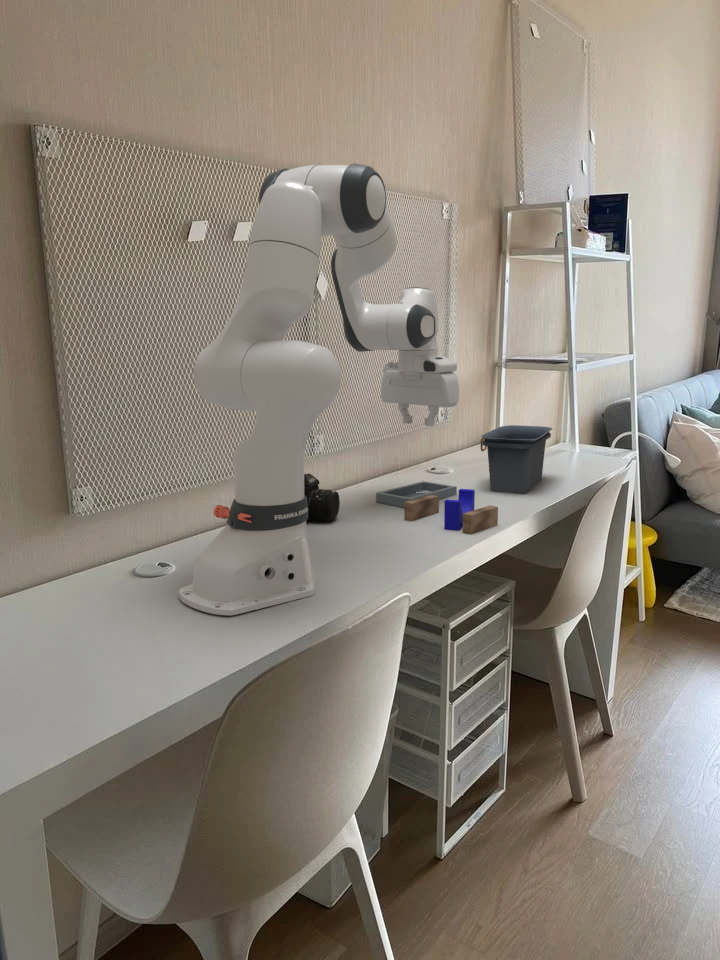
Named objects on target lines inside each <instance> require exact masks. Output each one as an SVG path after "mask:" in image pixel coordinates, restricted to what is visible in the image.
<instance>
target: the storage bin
mask: <svg viewBox="0 0 720 960" xmlns="http://www.w3.org/2000/svg"><path fill="white" fill-rule="evenodd" d="M552 430H553V427H550V426H538V425H537V426H536V425H517V424H515V425H510V424H509V425H502V426H499V427H497V428H496V427H495V428H494V429H492V430H490V431H488V432H485V433H484V434H482V435H481V439H480V451H481V452H485V451H486V450H487V459H488V471H489V483H490V485H489V486H490V492H492V493H506V494H516V495H527V494H528V493H529V492H531V491H532V490H533V489H534V488H535V487H536V486H537V485H538V484H539V483H540V482H541V481H542V479H543V472H544V471H543V470H544V469H543V468H544V459H545V451H546V443H547V440H549V439H550V438H551V437H552V435H551V434H552V433H550V432H551V431H552ZM483 446H484V447H483Z"/></svg>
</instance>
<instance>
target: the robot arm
mask: <svg viewBox="0 0 720 960" xmlns="http://www.w3.org/2000/svg"><path fill="white" fill-rule="evenodd" d="M257 208H258V209H257V211H256V214H255V217H254V221H253V225H252V230H251V233H250V239H249V244H248V249H247V250H248V251H247V256H246V262H245V267H244V273H243V278H242V283H241V287H240V288H241V289H240V292H239V295H238V297H237V301H236V303H235V306H234V308H233V311H232V312H231V314H230V316H229V317H228V318H229V319H228V320H227V322H226V323H225V326H224V327H223V328H222V330H221V332H220V333H219V334H218V335H217V337H216V338H215V339H214V340H213V341H212V342H211V343H210V344H208V345H207V346H206V347H204V348H203V349H202V350H201V351H200V352H199V354H198V356H197V358H196V359H195V361H194V362H195V363H194V367H193V381H194V386H195V388H196V391H197V393H198V395H200V397H201V398H202V399H204V400H205V401H206V402H208V403H211V404H213V405H216V406H218V407H222V408H224V409H228V410H232V411H247V412H248V411H249V412H255V423H254V427H253V430H252V432H251V434H250V436H249V437H247V438H246V439H244V440H243V441H241V442H240V443H239V444H238V445H237V447H236V448H235V450H234V451H233V456H232V463H233V465H232V466H233V484H234V499H232V503H231V506H230V508H229V507H228V506H223V505H221V504H218V505H215V506H214V509H213V511H212V512H213V516H215V518H219V519H222V520H226V524H227V525H226V526H224V528H223V529H222V530H221V531H220V532H219V533H218V534H217V535H216V536H215V537H214V538H213V540H211V542H209V544H207V546H206V547H205V548H204V549H203V550H202V551H201V552H200V553H199V554H198V555H197V556H196V558H195V560H194V564H193V565H194V566H193V572H192V573H193V575H192V583H190V584H188V585H186V586H183V587H181V588H179V589H178V599H179V600H180V601H181V602H182V603H184V604H185V605H187V606H188V607H191V608H193V609H195V610H198V611H201V612H203V613H207V614H208V613H209V614H212V615H219V616H237V615H239V614H244V613H248V612H252V611H256V610H260V609H263V608H264V609H265V608H267V607H272V606H275V605H276V606H277V605H279V604H285V603H288V602H292V601H296V600H299V599H303V598H308V597H311V596H314V595H315V594H316V584H317V582H318V577H317V573H316V572H315V569H314V565H313V560H312V556H311V551H310V544H309V537H308V530H307V522H306V520H307V519H308V505H307V497H306V496H305V495H304V474H305V452H306V446H307V443H308V442H307V441H308V439H309V435H310V433H311V431H312V427H313V426H314V424H315V422H316V421H317V419H318V418H319V416H320V415H321V414H322V412H324V411H325V410H326V409H327V408H329V406H331V404H332V403H334V401H335V399H336V397H337V396H338V393H339V389H340V387H341V370H340V366H339V363H338V360H337V359H336V357H335V355H334V354H333V352H332V351H331V350H330V349H329V348H328V347H325V346H323V345H319V344H315V343H312V342H308V341H303V340H297V339H296V340H294V339H290V340H289V339H287V340H286V339H285V337H286V335H287V333H288V332H289V331H290V329H291V328H292V327H293V326H294V325H295V324H296V323H297V322H299V321H300V320H301V319H303V318H304V317H305V316H306V315H307V314H308V313H309V312H310V310H311V308H312V306H313V301H314V295H315V289H316V283H317V276H318V270H319V269H318V268H319V262H320V256H321V247H322V237H325V236H326V237H328V236H333V238H334V241H335V243H336V246H337V247H336V249H335V250H334V251H333V253H332V256H331V260H330V261H331V262H330V270H331V277H332V281H333V285H334V289H335V294H336V297H337V301H338V304H339V305H338V306H339V309H340V311H341V313H340V314H341V316H342V324H343V333H344V334H343V335H344V338H345V340H346V341H347V343H348V345H349V346H350V347H352V348H353V350H355V351H356V352H359V353H362V352H363V353H364V352H374V351H398V352H397V355H398V356H397V358H398V359H397V360H398V361H397V362H393V361H390V362H388V363H386V365H384V366H383V369H382V370H383V372H382V373H383V375H382V379H381V389H380V398H381V399H382V402H383V403H389V404H398V410H399V412H400V415H401V416H402V423H403V424H407V425H409V424H410V425H411V424H412V423H413V415H410V412H409V410H408V409H409V407H410V405H413V406H427V410H428V412H429V413H428V416H427V417H424V425H425V427H433V426H435V425H436V424H435V420H436V419H435V418H436V417H437V415H438V412H439V411H440V408H452V407H455V406H456V405H457V404H458V403H459V399H460V398H459V394H460V390H459V389H460V388H459V379H458V378H459V377H458V376H457V374H456V373H455V372H456V371H457V369H458V363H457V362H456V361H455V360H452V359H450V358H448V357H446V356H443V355H442V354H439V347H438V342H437V333H438V332H439V331H438V330H439V317H438V304H437V297H436V295H435V294H436V293H435V292H434V291H433V290H431V289H430V288H426V287H415V286H413V287H412V286H411V287H407V288H406V287H405V288H403V289H402V290H401V291H400V295H399V301H398V302H397V303H382V304H381V303H380V304H378V303H377V304H374V303H369V302H367V301H365V300H364V298H363V294H362V293H363V292H362V290H361V285H360V280H361V279H363V278H364V279H365V278H366V277H368V276H371V275H374V274H376V273H377V272H378V271H380V270H381V269H382V268H384V267H385V266H386V265H387V264H388V263H389V262H390V261H391V259H392V257H393V255H394V254H395V251H396V249H397V248H396V247H397V241H398V239H397V233H396V232H397V231H396V228H395V227H396V226H395V225H394V222H393V219H392V216H391V214H390V211H389V209H388V207H387V192H386V186H385V183H384V180H383V178H382V177H381V174H379V172H377V171H376V170H375V169H374V168H373V167H371V166H369V165H366V164H361V163H351V164H349V165H348V164H347V165H346V164H321V163H320V164H319V163H318V164H310V165H304V166H298V167H294V168H283V169H279V170H276V171H273V172H272V173H270V174H268V175H267V176H266V178H264V180H263V182H262V184H261V186H260V189H259V192H258V207H257Z"/></svg>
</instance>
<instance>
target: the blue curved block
mask: <svg viewBox="0 0 720 960" xmlns="http://www.w3.org/2000/svg"><path fill="white" fill-rule="evenodd" d="M475 492H476V490H475V489H472V488H471V489H469V488H460V489H459V490H458V497H457V499H448V498H446V499H445V501H444V507H443V508H444V512H443V513H444V519H443V522H444V524H443V525H444V528H443V529H444V530H447V531H458V532H459V531H461V529H463V513H467V512H470V511H473V510H475V499H476V498H475V494H476V493H475Z"/></svg>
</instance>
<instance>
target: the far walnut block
mask: <svg viewBox="0 0 720 960" xmlns="http://www.w3.org/2000/svg"><path fill="white" fill-rule="evenodd" d="M403 509H404V511H403V512H404V514H403V515H404V517H403V518H404V521H407V520H408V521H407V522H411V521H412V522H415V521H418V520H421V519H424V518H427V517H429V516H433V515H436V514H439V511H440V500H439V496H436V495H429V496H425V497H422V498H418V499H414V500H410V501H407V502H404V508H403Z"/></svg>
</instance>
